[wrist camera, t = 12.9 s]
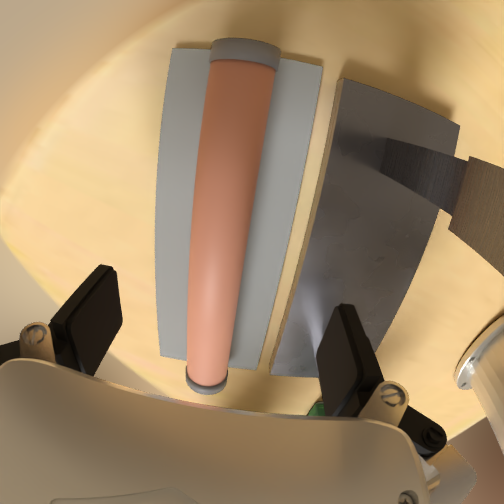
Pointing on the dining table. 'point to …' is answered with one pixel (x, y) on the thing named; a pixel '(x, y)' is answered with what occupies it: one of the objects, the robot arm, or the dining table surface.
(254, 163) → the rod
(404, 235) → the hook stand
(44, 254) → the dining table surface
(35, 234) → the dining table surface
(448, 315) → the dining table surface
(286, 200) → the mat
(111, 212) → the dining table surface
